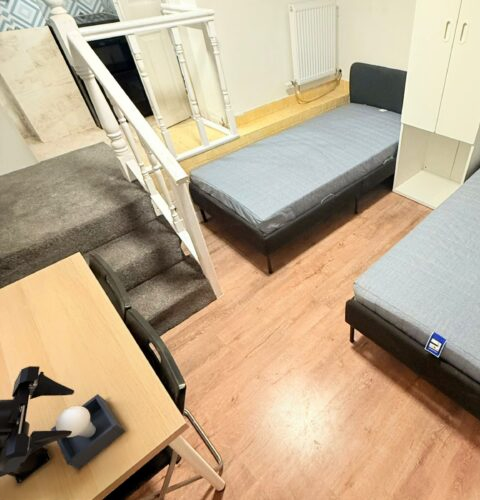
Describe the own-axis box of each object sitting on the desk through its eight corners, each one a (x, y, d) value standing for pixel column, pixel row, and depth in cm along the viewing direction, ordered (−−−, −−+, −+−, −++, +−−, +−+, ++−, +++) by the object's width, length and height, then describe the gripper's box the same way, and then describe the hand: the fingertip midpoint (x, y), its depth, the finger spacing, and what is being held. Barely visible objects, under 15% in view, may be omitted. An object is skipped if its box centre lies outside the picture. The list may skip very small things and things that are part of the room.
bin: (79, 470, 74) (67, 464, 71) (62, 435, 79) (50, 429, 76) (125, 431, 79) (116, 424, 76) (106, 401, 85) (97, 393, 81)
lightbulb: (91, 451, 76) (64, 436, 68) (71, 442, 78) (42, 426, 70) (111, 424, 80) (87, 406, 72) (91, 415, 82) (66, 397, 74)
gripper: (-30, 397, 69) (61, 394, 80) (-58, 497, 57) (54, 478, 68) (-13, 363, 66) (80, 365, 76) (-39, 462, 53) (75, 448, 64)
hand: (72, 411), depth 71 cm, fingers open, 9 cm apart
